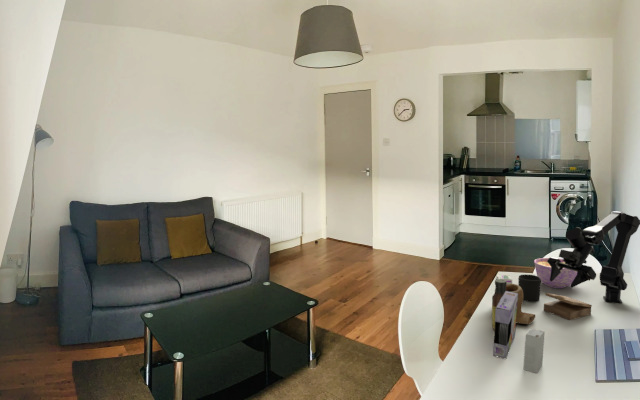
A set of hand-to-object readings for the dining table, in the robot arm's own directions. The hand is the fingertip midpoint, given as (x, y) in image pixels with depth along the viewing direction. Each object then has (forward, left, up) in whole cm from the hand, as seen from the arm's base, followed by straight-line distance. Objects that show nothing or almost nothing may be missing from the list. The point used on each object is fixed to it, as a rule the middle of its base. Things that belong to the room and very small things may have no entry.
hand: (560, 283), depth 184 cm
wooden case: (-4, +3, -13) cm, 14 cm away
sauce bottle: (+27, -21, -13) cm, 37 cm away
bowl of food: (-41, +1, -13) cm, 43 cm away
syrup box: (+3, -21, -13) cm, 25 cm away
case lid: (-4, +3, -8) cm, 10 cm away
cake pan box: (+41, -19, -13) cm, 47 cm away
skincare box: (+53, -10, -13) cm, 55 cm away
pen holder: (-16, -11, -13) cm, 24 cm away
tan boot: (+15, -17, -13) cm, 26 cm away
